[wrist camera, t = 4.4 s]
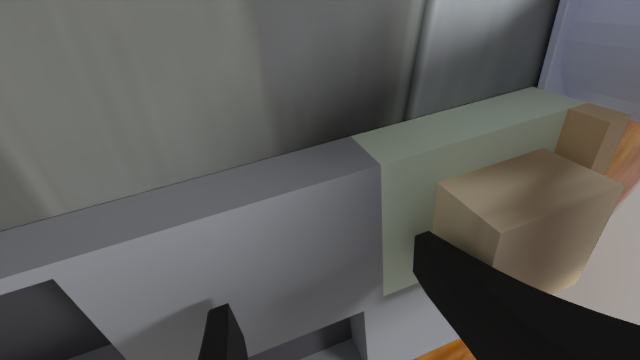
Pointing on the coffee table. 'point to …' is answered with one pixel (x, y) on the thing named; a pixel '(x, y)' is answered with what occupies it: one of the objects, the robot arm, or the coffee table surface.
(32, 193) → the coffee table surface
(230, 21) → the coffee table surface
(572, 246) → the maple block
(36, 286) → the board
